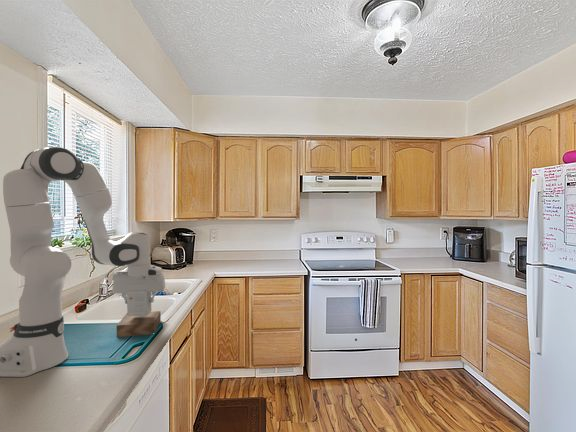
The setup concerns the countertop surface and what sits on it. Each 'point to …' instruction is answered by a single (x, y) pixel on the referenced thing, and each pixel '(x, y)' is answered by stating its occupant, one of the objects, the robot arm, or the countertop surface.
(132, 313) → the small box
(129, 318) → the walnut block
